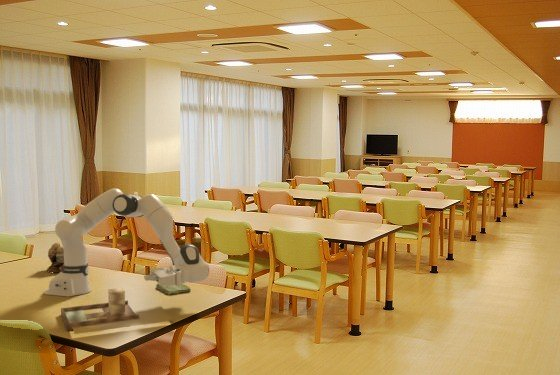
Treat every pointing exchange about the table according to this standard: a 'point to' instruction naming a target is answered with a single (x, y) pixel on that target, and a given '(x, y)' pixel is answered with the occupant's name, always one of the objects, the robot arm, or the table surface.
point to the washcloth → (173, 288)
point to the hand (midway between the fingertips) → (144, 278)
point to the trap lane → (93, 315)
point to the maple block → (116, 301)
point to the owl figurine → (56, 258)
